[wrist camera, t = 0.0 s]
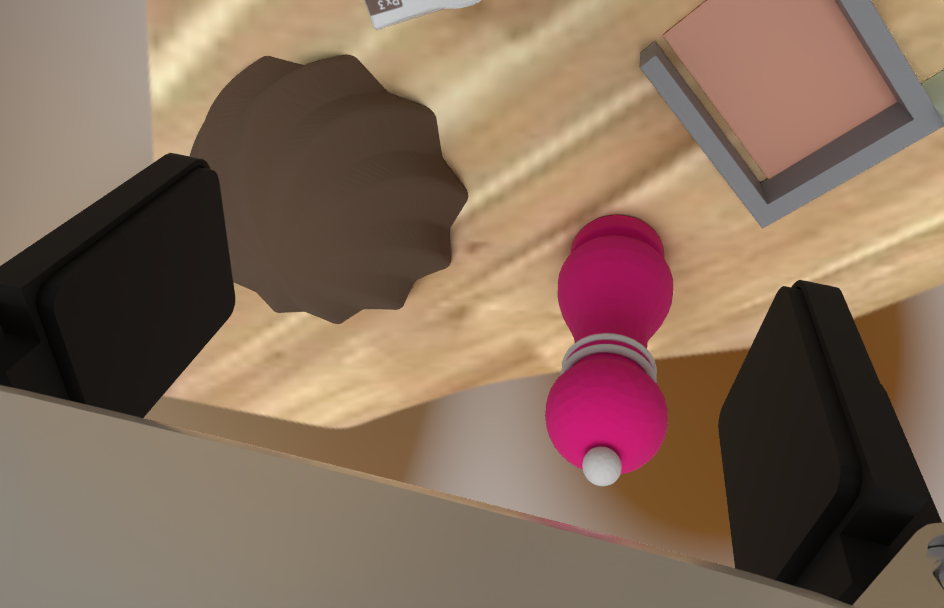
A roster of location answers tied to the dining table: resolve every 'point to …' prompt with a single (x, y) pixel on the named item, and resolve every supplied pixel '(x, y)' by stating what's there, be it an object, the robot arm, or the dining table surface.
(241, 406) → the dining table surface
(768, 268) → the dining table surface
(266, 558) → the robot arm
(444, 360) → the dining table surface
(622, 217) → the pepper mill
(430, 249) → the decorative dome
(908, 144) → the bay rack
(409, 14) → the skincare box
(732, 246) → the dining table surface
